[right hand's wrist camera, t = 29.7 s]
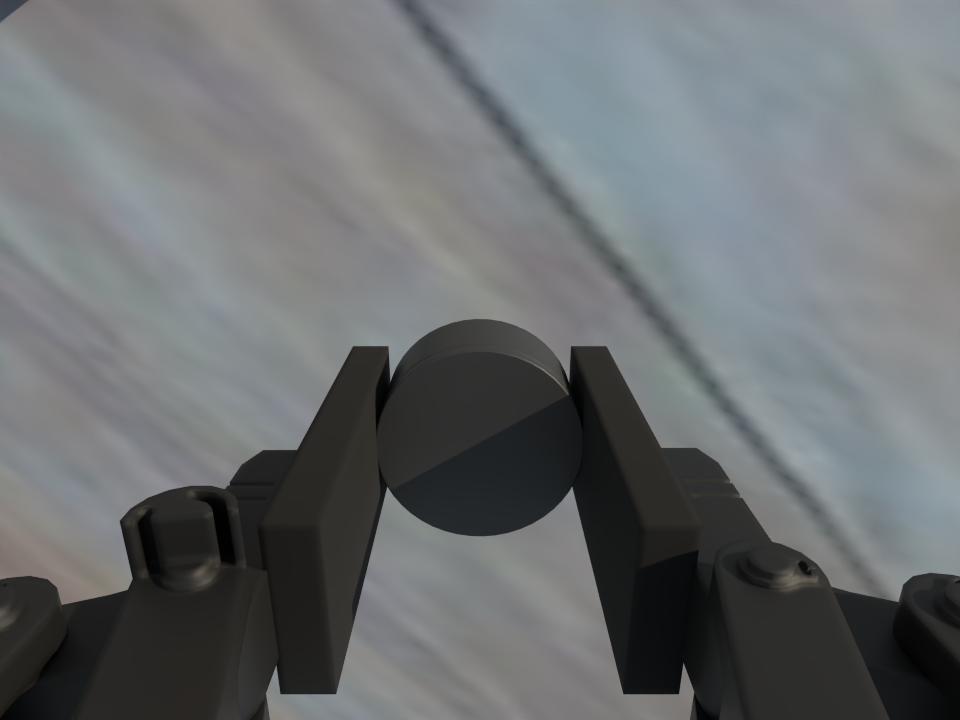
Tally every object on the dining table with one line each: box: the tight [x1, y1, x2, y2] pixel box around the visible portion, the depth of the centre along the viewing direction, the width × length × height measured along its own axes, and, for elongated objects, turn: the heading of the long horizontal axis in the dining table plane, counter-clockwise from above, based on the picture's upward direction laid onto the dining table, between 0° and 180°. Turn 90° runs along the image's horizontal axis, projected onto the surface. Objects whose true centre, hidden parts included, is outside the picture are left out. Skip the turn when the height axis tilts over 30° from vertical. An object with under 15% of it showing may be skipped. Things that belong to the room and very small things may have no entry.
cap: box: [376, 319, 583, 536], centre depth 13 cm, size 4×4×2 cm
